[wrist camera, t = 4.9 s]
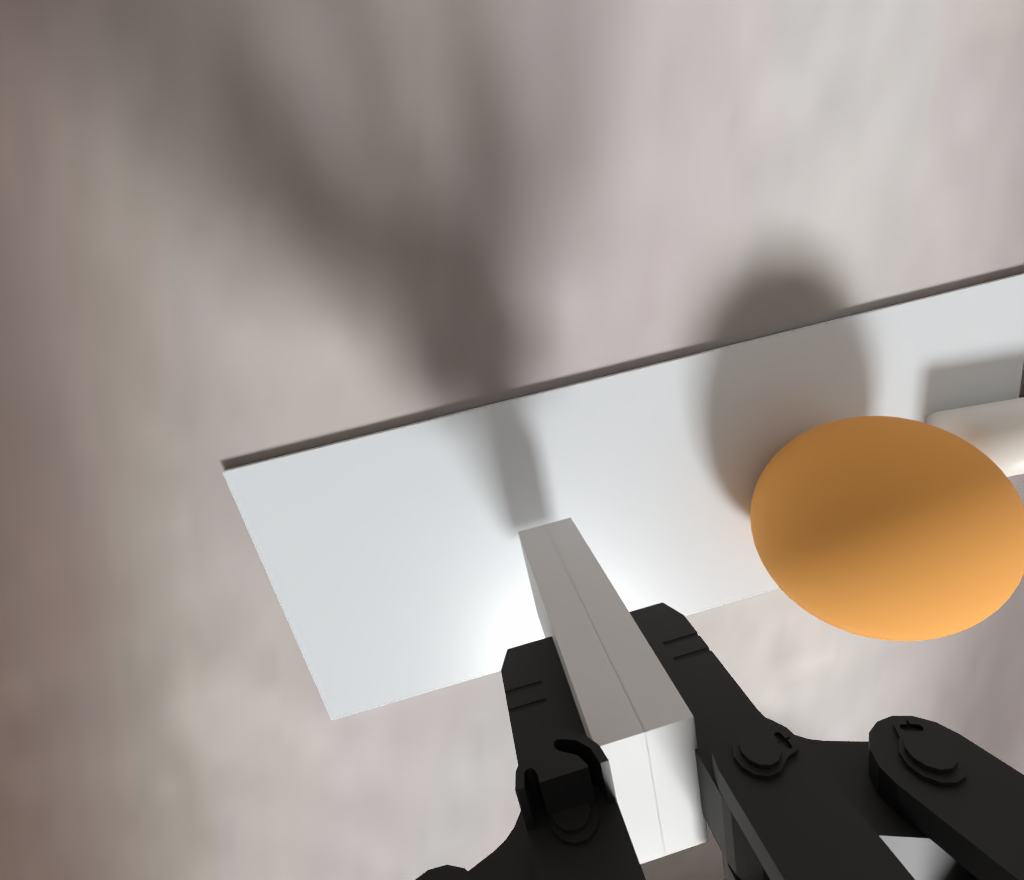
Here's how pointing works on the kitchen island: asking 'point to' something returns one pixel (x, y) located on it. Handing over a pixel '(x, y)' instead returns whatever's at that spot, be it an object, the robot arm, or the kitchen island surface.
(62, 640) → the kitchen island surface
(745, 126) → the kitchen island surface
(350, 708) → the plate
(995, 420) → the pin
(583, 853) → the robot arm
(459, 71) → the kitchen island surface
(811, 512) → the ball
